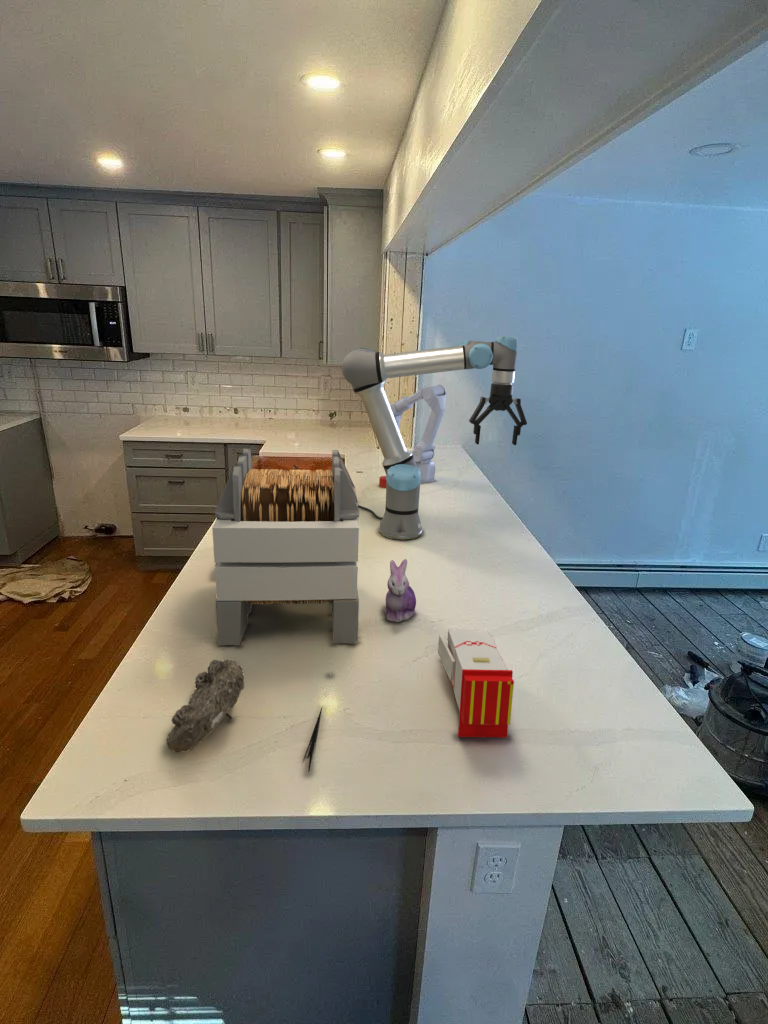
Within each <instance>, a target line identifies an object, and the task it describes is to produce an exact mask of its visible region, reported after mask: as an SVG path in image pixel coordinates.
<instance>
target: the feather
mask: <svg viewBox="0 0 768 1024" xmlns="http://www.w3.org/2000/svg"><path fill="white" fill-rule="evenodd" d="M329 675H330V676H331V675H332V674H331V673H330V674H329ZM322 710H323V707H321V708H320V710H319V713H318V716H317V719H316V723H315V725H314V728H313V731H312V733H311V737H310V739H309V742H308V745H307V748H306V751H305V754H304V757H303V760H302V763H301V767H302V765H303V763H304V761H305V758H308V759H309V760H308V762H307V763H308V764H307V766H308V771H310V770H311V766H312V765H311V764H312V760H313V757H315V756H314V755H315V751H316V749H315V746H317V739H318V733H319V729H320V722H321V717H322V712H323V711H322ZM313 754H314V755H313ZM306 755H307V757H306Z"/></svg>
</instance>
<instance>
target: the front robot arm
mask: <svg viewBox="0 0 768 1024" xmlns="http://www.w3.org/2000/svg"><path fill="white" fill-rule="evenodd" d="M518 347H519V339H518V338H517V337H516V336H508V335H506V336H505V335H498V336H496V338H495V341H483V340H482V341H480V340H462V341H460V343H459V345H457V346H456V345H454V346H447V347H438V348H437V347H435V348H429V349H421V350H412V351H402V352H393V353H387V354H384V353H383V352H382V351H373V350H372V349H370V348H367V347H359V348H355V349H354V350H352V351H351V352H349V353H348V354H347V355H345V357H344V359H343V361H342V363H341V373H342V375H343V377H344V379H345V380H346V382H348V384H350V385H351V388H352V390H353V393H354V394H355V395H357V396H359V397H360V399H361V401H362V404H363V407H364V409H365V412H366V414H367V417H368V419H369V422H370V424H371V427H372V430H373V433H374V435H375V439H376V441H377V443H378V445H379V448H380V450H381V453H382V456H383V460H382V463H381V465H382V468H383V471H384V473H385V476H386V481H387V483H386V488H385V504H384V505H385V507H384V508H385V509H384V513H383V515H382V516H378V515H377V514H376V513H375V511H373V510H372V509H370V508H368V507H365V506H362V505H360V504H358V507H359V509H362V510H364V511H367V512H369V513H370V514H372V516H374V518H375V519H378V520H381V522H379V525H378V533H379V534H380V535H381V536H382V537H385V538H387V539H389V540H395V541H410V540H415V539H418V538H420V537H421V536H422V535H423V525H422V521H421V518H420V515H419V507H420V506H419V505H420V491H421V483H420V482H421V473H420V469H419V467H418V465H417V464H416V462H415V460H414V457H413V454H412V451H410V450H408V449H407V447H406V445H405V441H404V439H403V436H402V434H401V430H400V431H399V429H398V426H397V423H396V421H395V418H394V415H393V413H392V410H391V407H390V404H391V403H389V402H390V401H389V400H388V397H387V393H386V391H385V389H384V386H385V384H386V381H387V379H393V378H395V379H396V378H403V377H411V376H421V375H428V374H438V373H445V372H455V371H462V370H473V369H476V370H483V369H486V368H487V367H489V366H492V372H491V373H492V374H491V384H490V391H489V397H485V396H481V397H480V399H479V403H478V405H477V406H476V408H475V409H474V411H473V413H472V415H471V416H470V418H469V420H468V422H469V423H470V424H472V425H473V431H472V432H473V434H474V435H475V440H474V443H475V444H476V445H480V438H481V429H482V426H481V425H480V424H481V423H483V421H484V420H485V419H486V418H487V417H488V416H489V415H490V413H492V412H493V411H496V412H498V411H501V412H505V411H506V412H507V413H508V414H509V416H510V417H511V420H513V422H514V423H515V425H513V432H512V439H511V444H512V445H513V446H517V444H518V443H517V442H518V436H520V435H521V433H522V431H521V430H522V427H523V426H527V424H528V422H527V418H526V416H525V413H524V410H523V407H522V399H521V398H520V397H515V398H513V392H514V385H513V384H514V383H515V376H516V375H515V374H516V365H517V359H518V358H517V357H518V349H519V348H518ZM487 403H489V405H487V407H486V409H485V410H484V411H483V412H482V410H483V408H484V407H485V405H486V404H487ZM512 404H513V405H515V408H516V411H517V414H518V417H519V418H518V417H517V415H516V414H515V412H514V411H513V409H512V408H511V405H512ZM481 412H482V413H481ZM480 413H481V414H480ZM519 419H520V420H519ZM403 441H404V442H403ZM293 467H294V468H295V470H301V469H300V468H299V467H298V466H297V465H296V464H293Z"/></svg>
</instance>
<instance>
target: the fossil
mask: <svg viewBox="0 0 768 1024" xmlns="http://www.w3.org/2000/svg"><path fill="white" fill-rule="evenodd" d="M243 670H244V669H243V667H242V665H240V664H237V662H236V661H235V660H234V659H232V658H231V659H227V658H226V659H224V660H223V661H222V660H217V659H212V660H211V661H210V663H209V665H208V666H207V671H201V672H199V673H198V674H197V675H196V676H195V680H194V684H195V685H194V687H195V689H194V690H193V693H192V694H191V697H190V698H189V700H188V704H184V705H182V706H181V707H180V709H177V710H176V711H175V713H174V715H173V716H172V718H171V723H172V724H173V727H172V730H171V731H170V732H168V734H167V738H166V741H167V742H166V745H167V749H168V750H169V751H173V752H174V753H176V754H178V753H182V752H188V751H189V752H192V751H193V750H195V748H196V747H197V746H199V744H200V743H201V742H203V741H204V740H205V739H206V738H207V737H208V736H209V735H210V734H211V733H212V732H214V730H215V729H217V727H218V726H219V724H220V722H221V721H222V720H223V719H224V718H225V716H226V717H227V719H229V720H233V717H232V715H230V714H229V710H230V709H231V708H234V706H235V704H236V703H237V702H238V699H239V697H240V695H241V693H242V691H243V690H245V689H244V688H245V675H244V671H243Z"/></svg>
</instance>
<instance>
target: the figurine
mask: <svg viewBox="0 0 768 1024" xmlns="http://www.w3.org/2000/svg"><path fill="white" fill-rule="evenodd" d="M407 567H408V559H406V558H404V559H403V560H402V561H401V563H400V565H399V566H398V565H397V563H396V562H395V561H394V560H393V559H391V560H390V561H389V570H390V576H389V578H388V579H387V589H388V591H387V592H386V594H385V595H386V596H385V607H384V615H385V616H386V620H387V621H391V622H395V623H400V622H402V621H406V620H409V619H410V618H411V617H413V616H414V615H415V610H416V606H417V597H416V593H415V591H414V590H413V587H411V586H410V582H409V579H408V577H407V574H406V571H407Z"/></svg>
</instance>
